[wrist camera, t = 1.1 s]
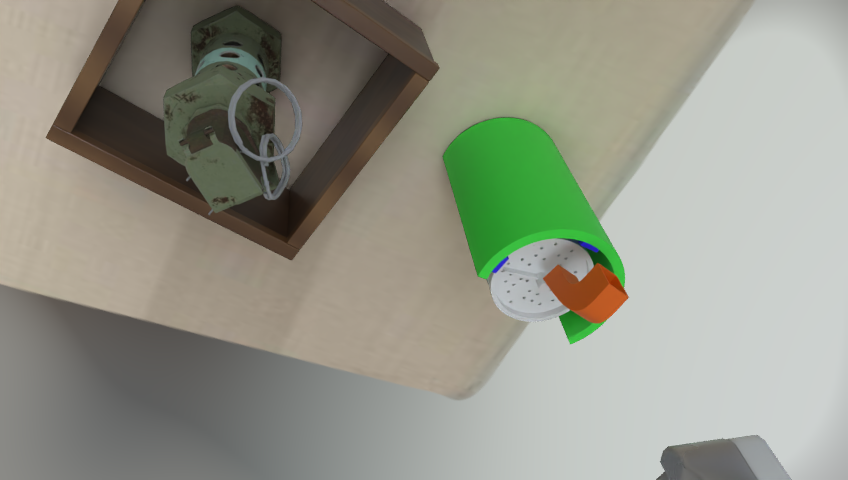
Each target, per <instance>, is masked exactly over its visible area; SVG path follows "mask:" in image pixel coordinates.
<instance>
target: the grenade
mask: <svg viewBox="0 0 848 480" xmlns="http://www.w3.org/2000/svg"><path fill="white" fill-rule="evenodd" d="M191 53H192V74H193V77H192V78H189V79H187V80H185V81H183V82H181V83H179V84H177V85H175V86H173V87H172V88H170V89H168V90H167V91H166V94H165V96H164V99H163V101H164V127H165V142H166V151H167V155H168V156H170V157H171V158H173V159H174V160H176V161H177V162H178V163H180V164H182V165H184V166H185V167H186V170H187V172H188V174H189V177H188V178H187V179H186V181H188V180H189V179H190V178H191V179H192V180H193V182H194V183H195V185H196V186H197V187H198V189H199V190H200V192H201V193H202V195H203V196H204V198H205V199H206V201H207V202H208V204H209V205H210V207H211V208H212V209H211V211H210V212H209V213H208V215H210V214H211V213H212V212H213V211H214V212H215V213H218V212H220V211H222V210H225V209H227V208H229V207H232V206H234V205H236V204H237V205H239V204H241V203H243V202H246V201H248V200H250V199H253V198H255V197H257V196H260V195H262V194H263V195H264V197H265V199H268V200H276V199H277V198H278V197H279V196H280V195H281V193H282V192H283V190H284V188H285V186H286V184H287V182H288V180H289V177H290V165H289V160H288V157H287V155H288V154H289V153H290V152H291V151H292V150H293V149H294V147H295V145H296V144H297V142H298V140H299V138H300V134H301V129H302V115H301V109H300V107H299V104H298V102H297V99H296V97H295V96H294V95H293V94H292V92H291V91H290V90H289V88H288V87H287V86H285V85H284V84H282V83H281V82H280V64H281V34H280V33H279V32H278V31H277V30H275V29H274V28H273V27H271V26H270V25H268V24H267V23H265V22H264V21H262V20H261V19H259V18H258V17H256V16H255V15H253V14H252V13H250V12H249V11H247V10H245V9H243V8H242V7H240V6H235V7H233V8H230V9H227V10H225V11H223V12H221V13H219V14H217V15H214V16H212V17H210V18H208V19H206V20H204V21H202V22H200V23H198V24H196V25H194V26H193V28H192V31H191ZM276 88H279V89H280V90H282V91H283V92H284V93H285V94H286V96H287V97H288V99H289V100H290V102H291V103H292V106H293V110H294V113H295V132H294V135H293V138H292V141H291V142H290V144H289V145H288V146H287V147H286V149H284V147H283V145H282V143H281V141H280V140H279V138H278V137H277V136H276V135H275V134H274V127H275V98H274V97H273V96H271V95H270V94H269V92H271V91H273V90H274V89H276ZM274 146H275V148H276V149H277V151H278V154H279V155H277V156H273V154H274ZM281 151H282V152H281ZM280 159H281V163H282V167H283V173H282V177H281V180H280V182H279V178H278V175H277V171H276V167H275V163H274V161H276V160H280ZM284 159H285V160H284ZM285 163H286V165H285ZM286 168H287V173H286ZM274 189H275V191H274V192H273V194H272V193H271V190H274Z"/></svg>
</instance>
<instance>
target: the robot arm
mask: <svg viewBox="0 0 848 480" xmlns="http://www.w3.org/2000/svg"><path fill="white" fill-rule="evenodd" d="M660 462H661V464H662V466H663V468H664V470H665V472H664V473H663V474H662V475H661V476H660V477H658V478H657V479H656V480H791V478H790V477H789V475H788V474H787V472H786V471H785V470H784V468H783V466H782V465H781V464H780V462H779V461H778V459H777V458H776V456H775V455H774V453H773V452H772V450H771V449H770V447H769V446H768V445H767V443H766V442H765V440H764V439H762V438H760V437H759V436H758V435H752V436H745V437H738V438H732V439H717V440H710V441H703V442H697V443H689V444H682V445H676V446H669V447H667V448H666V449H665V450H664V451H663V454H662V457H661V461H660Z"/></svg>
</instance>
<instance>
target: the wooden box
mask: <svg viewBox="0 0 848 480" xmlns="http://www.w3.org/2000/svg"><path fill="white" fill-rule="evenodd" d="M311 1H313V2H314V3H315V4H317V5H318V6H320V7H321V8H323V9H324V10H326V11H327V12H329V13H330V14H331V15H333V16H334V17H336V18H337V19H339V20H340V21H342V22H343V23H345V24H346V25H348V26H349V27H350V28H352V29H353V30H355V31H356V32H358V33H359V34H361V35H362V36H364V37H365V38H367V39H368V40H369V41H371V42H372V43H374V44H375V45H377V46H378V47H380V48H381V49H383V50H384V51H386V52H387V53H388V56H387V57H386V58H385V60H384V61H383V63H382V64H381V65H380V67H379V68H378V69H377V71H376V72H375V74H374V75H373V76H372V78H371V79H370V80H369V82H368V83H367V85H366V86H365V87H364V89H363V90H362V91H361V93H360V94H359V95H358V97H357V98H356V100H355V101H354V102H353V104H352V105H351V106H350V108H349V109H348V111H347V112H346V113H345V115H344V116H343V117H342V119H341V120H340V122H339V123H338V124H337V126H336V127H335V128H334V130H333V131H332V132H331V134H330V135H329V137H328V138H327V139H326V141H325V142H324V143H323V145H322V146H321V148H320V149H319V150H318V152H317V153H316V154H315V156H314V157H313V158H312V160H311V161H310V163H309V164H308V165H307V167H306V168H305V169H304V171H303V172H302V174H301V175H300V176H299V178H298V179H297V180H296V182H295V183H294V185H293V186H292V187H291V189H290V190H289V189H287V188H284V190H283V192H282V193H281V195H280V196H279V197H278V198H277V199H276V200H268V199H265V197H264V195H263V194H262V195H260V196H257V197H255V198H253V199H250V200H248V201H246V202H243V203H241V204H239V205H237V204H236V205H234V206H232V207H229V208H227V209H225V210H222V211H220V212H218V213H215V212H214V211H213V212H212V213H211V214H210V215H208V213H209V212H210V211H211V209H212V208H211V207H210V205H209V204H208V202H207V201H206V199H205V198H204V196H203V195H202V193H201V192H200V190H199V189H198V187H197V186H196V185H195V183H194V182H193V180H192V179H191V178H190V179H189V180H188V181H186V179H187V178H188V177H189V174H188V172H187V170H186V167H185V166H184V165H182V164H180V163H178V162H177V161H176V160H174V159H173V158H171V157H170V156H168V155H167V151H166V142H165V127H164V121H162V120H160V119H158V118H157V117H155V116H153V115H151V114H149V113H147V112H146V111H144V110H142V109H140V108H138V107H136V106H135V105H133V104H131V103H129V102H127V101H125V100H124V99H122V98H120V97H118V96H116V95H114V94H113V93H111V92H109V91H107V90H105V89H103V88H102V87H100V86H99V84H100V82H101V80H102V78H103V77H104V75H105V73H106V71H107V69H108V68H109V66H110V64H111V62H112V60H113V58H114V57H115V55H116V53H117V51H118V49H119V47H120V46H121V44H122V42H123V40H124V38H125V37H126V35H127V33H128V31H129V29H130V27H131V26H132V24H133V22H134V20H135V18H136V16H137V15H138V13H139V11H140V9H141V7H142V6H143V4H144V2H145V0H119V1H118V2H117V4H116V6H115V8H114V10H113V12H112V14H111V16H110V18H109V19H108V21H107V23H106V25H105V27H104V29H103V31H102V33H101V34H100V36H99V38H98V40H97V42H96V44H95V46H94V48H93V50H92V51H91V53H90V55H89V57H88V59H87V61H86V63H85V65H84V66H83V68H82V70H81V72H80V74H79V76H78V78H77V80H76V82H75V83H74V85H73V87H72V89H71V91H70V93H69V95H68V97H67V98H66V100H65V102H64V104H63V106H62V108H61V110H60V112H59V114H58V115H57V117H56V119H55V121H54V123H53V125H52V127H51V129H50V130H49V132H48V134H47V136H46V138H47V139H49V140H51V141H53V142H55V143H57V144H59V145H61V146H63V147H65V148H67V149H69V150H71V151H73V152H75V153H77V154H79V155H81V156H83V157H85V158H87V159H89V160H91V161H93V162H95V163H97V164H99V165H101V166H103V167H105V168H107V169H109V170H111V171H113V172H115V173H117V174H119V175H121V176H123V177H125V178H127V179H129V180H131V181H133V182H135V183H137V184H139V185H141V186H143V187H145V188H147V189H149V190H151V191H153V192H155V193H157V194H159V195H161V196H163V197H165V198H167V199H169V200H171V201H173V202H175V203H177V204H179V205H181V206H183V207H185V208H187V209H189V210H191V211H193V212H195V213H197V214H199V215H201V216H203V217H205V218H207V219H209V220H211V221H213V222H215V223H217V224H219V225H221V226H223V227H225V228H227V229H229V230H231V231H233V232H235V233H237V234H239V235H241V236H243V237H245V238H247V239H249V240H251V241H253V242H255V243H257V244H259V245H261V246H263V247H265V248H267V249H269V250H271V251H273V252H275V253H277V254H279V255H281V256H283V257H285V258H287V259H289V260H292V259H293V258H294V257H295V255H296V254H297V253H298V252H299V250H300V249H301V248H302V246H303V245H304V244H305V242H306V241H307V240H308V238H309V237H310V236H311V235H312V233H313V232H314V231H315V229H316V228H317V227H318V226H319V224H320V223H321V222H322V220H323V219H324V218H325V216H326V215H327V214H328V213H329V211H330V210H331V209H332V207H333V206H334V205H335V203H336V202H337V201H338V200H339V198H340V197H341V196H342V194H343V193H344V192H345V191H346V189H347V188H348V187H349V185H350V184H351V183H352V181H353V180H354V179H355V178H356V176H357V175H358V174H359V172H360V171H361V170H362V168H363V167H364V166H365V165H366V163H367V162H368V161H369V159H370V158H371V157H372V155H373V154H374V153H375V152H376V150H377V149H378V148H379V146H380V145H381V144H382V143H383V141H384V140H385V139H386V137H387V136H388V135H389V133H390V132H391V131H392V130H393V128H394V127H395V126H396V124H397V123H398V122H399V120H400V119H401V118H402V117H403V115H404V114H405V113H406V111H407V110H408V109H409V108H410V106H411V105H412V104H413V102H414V101H415V100H416V98H417V97H418V96H419V95H420V93H421V92H422V91H423V89H424V88H425V87H426V85H427V84H428V83H429V81H430V80H431V79H432V78H433V76H434V75H435V74H436V72H437V71H438V70H439V65H438V63H436V62H435V61H434V59H433V57H432V54H431V52H430V49H429V47H428V44H427V42H426V39H425V37H424V34H423V32H422V29H421V28H420V27H419V26H417V25H416V24H414V23H413V22H412V21H410V20H409V19H407V18H406V17H405V16H403V15H402V14H401V13H399V12H398V11H396V10H395V9H394V8H392V7H391V6H389V5H388V4H387V3H385V2H384V1H382V0H311ZM274 191H275V189H274V190H271V193H272V194H273V192H274Z"/></svg>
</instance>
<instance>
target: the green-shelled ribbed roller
mask: <svg viewBox="0 0 848 480" xmlns="http://www.w3.org/2000/svg"><path fill="white" fill-rule="evenodd" d="M443 160H444V163H445V167H446V170H447V173H448V177H449V180H450V183H451V187H452V190H453V194H454V197H455V200H456V204H457V207H458V211H459V214H460V217H461V221H462V224H463V228H464V231H465V234H466V238H467V241H468V245H469V248H470V251H471V255H472V258H473V262H474V265H475V268H476V272H477V275H478V277H481V278H484V279H487V282H488V284H489V288H490V292H491V295H492V298H493V301H494V302H495V304H496V306H497V307H498V308H499V309H500V310H501V311H502V312H503V313H505V314H506V315H508V316H510V317H512V318H514V319H517V320H522V321H530V322H532V321H544V320H549V319H552V318H556V317H558V316H559V318H560V321H561V323H562V326H563V328H564V330H565V333H566V335H567V338H568V340H569V342H570V344H573V343H575V342H577V341H579V340H581V339H583V338H585V337H586V336H588V335H589V334H591V333H592V332H594V331H595V330H596V329H598V328H599V327H600V326H601V325H602V324H603V323H604V322H605V321H606V320H607V319H608V318H609V317H610V316H612V315H613V314H614V313H615V312H616V311H617V309H618V308H619V307H620V306H621V305H622V304H623V303H624V302H625V301H626V300H627V299H628V295H627V293H626V292H625V290H624V283H625V273H624V267H623V264H622V262H621V259H620V257H619V256H618V254H617V252H616V250H615V249H614V247H613V245H612V243H611V242H610V240H609V238H608V236H607V235H606V233H605V231H604V229H603V228H602V226H601V224H600V222H599V221H598V219H597V217H596V215H595V214H594V212H593V210H592V209H591V207H590V205H589V203H588V202H587V200H586V198H585V196H584V195H583V193H582V191H581V189H580V188H579V186H578V184H577V182H576V181H575V179H574V177H573V175H572V174H571V172H570V170H569V168H568V167H567V165H566V163H565V161H564V160H563V158H562V156H561V155H560V153H559V151H558V149H557V148H556V146H555V144H554V142H553V141H552V139H551V138H550V137H549V135H548V134H547V133H546V132H545V131H544V130H542V129H541V128H540V127H538V126H537V125H535V124H533V123H531V122H528V121H525V120H522V119H517V118H496V119H491V120H487V121H484V122H481V123H478V124H476V125H474V126H472V127H470V128H469V129H467V130H465V131H464V132H463V133H461V134H460V135H459V136H458V137H457V138H456V139H455V140H454V141H453V142H452V143H451V144H450V146H449V147H448V148H447V150H446V152H445V153H444V155H443Z"/></svg>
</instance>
